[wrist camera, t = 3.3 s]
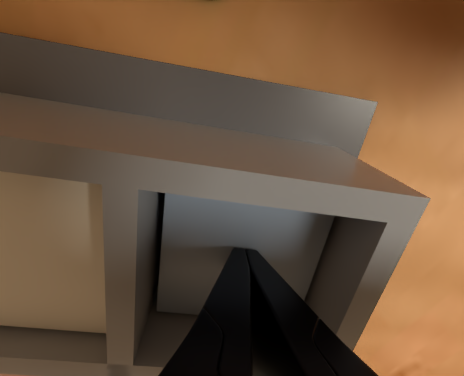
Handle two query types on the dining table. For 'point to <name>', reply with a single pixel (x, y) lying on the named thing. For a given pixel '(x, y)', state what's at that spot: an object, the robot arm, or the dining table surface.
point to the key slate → (232, 246)
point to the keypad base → (190, 187)
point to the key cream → (51, 254)
